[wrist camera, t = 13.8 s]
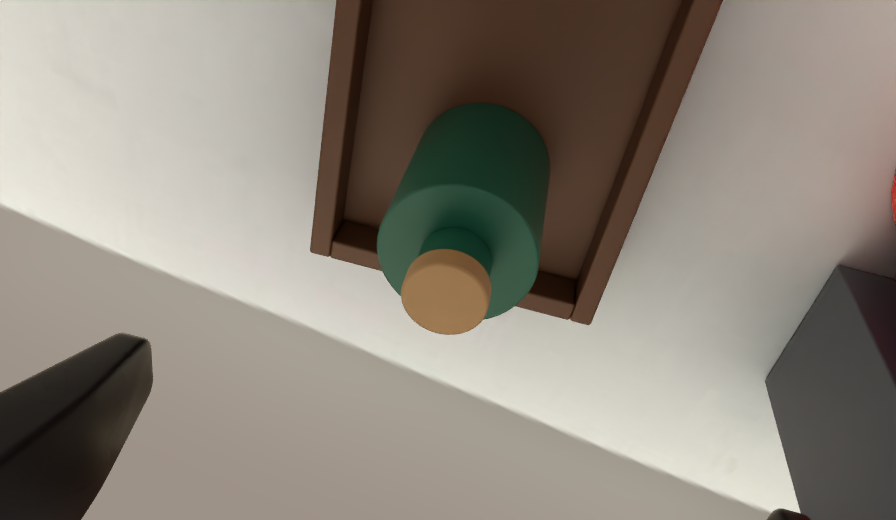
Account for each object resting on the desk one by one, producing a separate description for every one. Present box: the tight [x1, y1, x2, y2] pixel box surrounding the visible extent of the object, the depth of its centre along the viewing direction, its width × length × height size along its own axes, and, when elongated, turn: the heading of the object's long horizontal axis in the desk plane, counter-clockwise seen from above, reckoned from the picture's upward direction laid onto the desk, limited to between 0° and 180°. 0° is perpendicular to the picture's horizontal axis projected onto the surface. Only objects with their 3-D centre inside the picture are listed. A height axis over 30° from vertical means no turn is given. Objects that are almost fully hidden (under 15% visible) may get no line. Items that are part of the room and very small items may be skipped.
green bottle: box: [377, 103, 550, 335], centre depth 17 cm, size 4×4×6 cm
